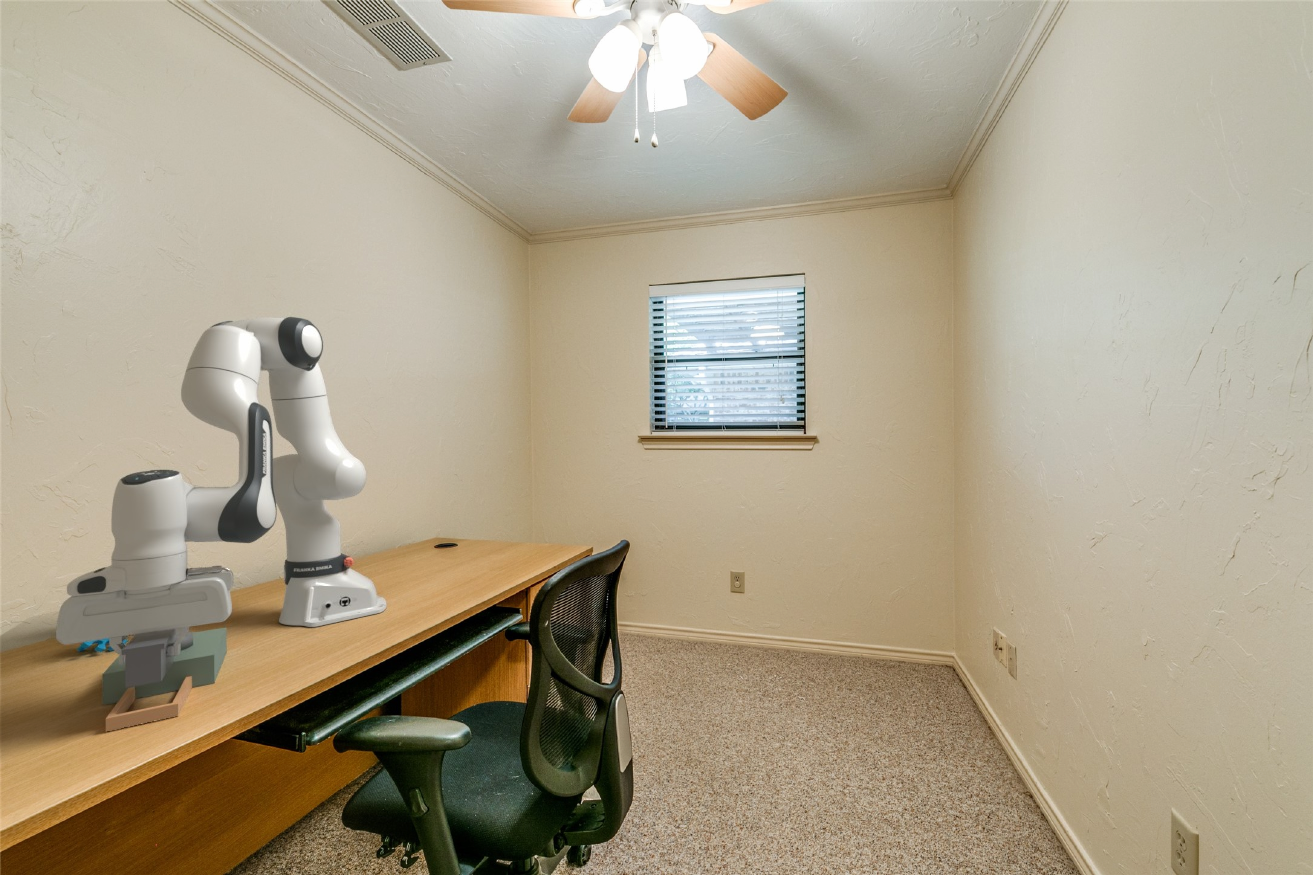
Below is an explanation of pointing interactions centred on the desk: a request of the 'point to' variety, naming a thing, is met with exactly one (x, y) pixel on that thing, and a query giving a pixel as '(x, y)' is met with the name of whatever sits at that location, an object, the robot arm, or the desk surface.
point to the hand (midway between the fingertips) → (150, 659)
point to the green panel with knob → (166, 679)
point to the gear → (100, 646)
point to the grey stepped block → (147, 657)
